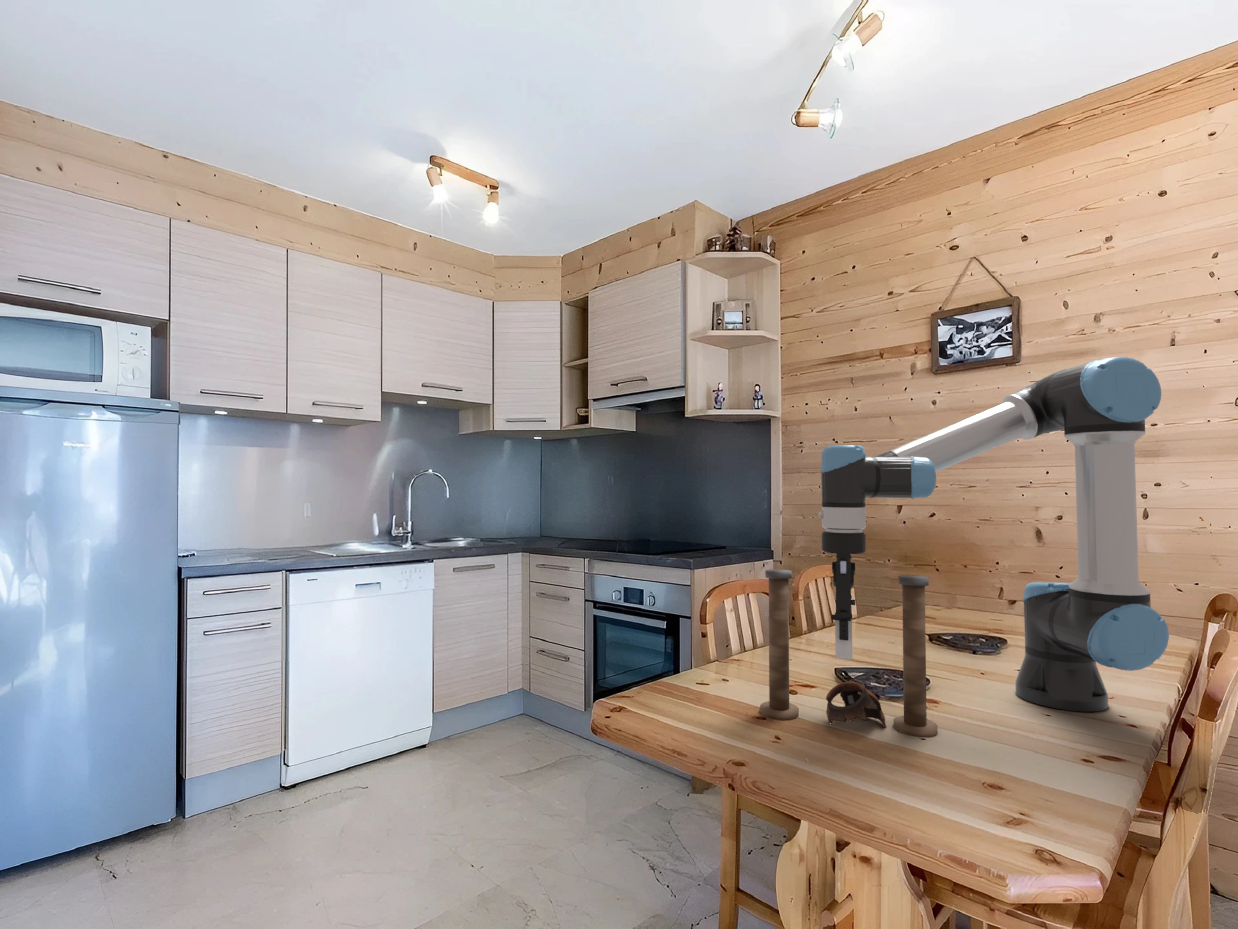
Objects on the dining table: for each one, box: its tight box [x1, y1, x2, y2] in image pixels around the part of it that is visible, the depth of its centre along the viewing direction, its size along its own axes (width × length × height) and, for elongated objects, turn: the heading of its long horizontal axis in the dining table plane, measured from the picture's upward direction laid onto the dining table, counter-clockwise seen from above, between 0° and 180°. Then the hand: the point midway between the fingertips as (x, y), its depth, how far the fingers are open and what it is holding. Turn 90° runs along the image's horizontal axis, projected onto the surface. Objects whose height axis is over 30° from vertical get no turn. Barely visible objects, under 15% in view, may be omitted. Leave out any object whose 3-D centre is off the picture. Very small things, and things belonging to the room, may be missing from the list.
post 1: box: [759, 568, 800, 721], centre depth 120 cm, size 7×7×26 cm
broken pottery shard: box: [825, 680, 887, 728], centre depth 116 cm, size 12×10×8 cm
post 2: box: [892, 574, 939, 738], centre depth 113 cm, size 7×7×26 cm
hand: (844, 649), depth 116 cm, fingers open, 13 cm apart
